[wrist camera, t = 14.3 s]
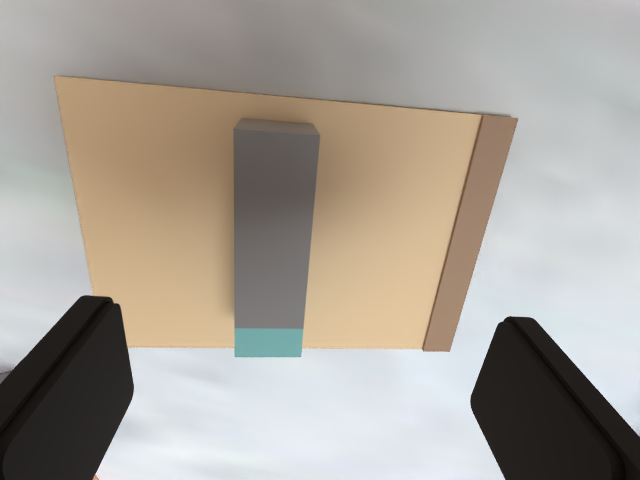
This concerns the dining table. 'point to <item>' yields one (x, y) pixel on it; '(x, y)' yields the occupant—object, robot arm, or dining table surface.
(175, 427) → the dining table surface
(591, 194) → the dining table surface
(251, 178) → the marker
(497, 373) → the robot arm
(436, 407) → the dining table surface
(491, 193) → the notepad
